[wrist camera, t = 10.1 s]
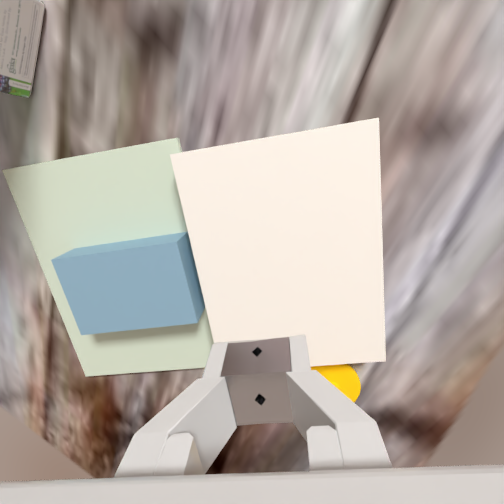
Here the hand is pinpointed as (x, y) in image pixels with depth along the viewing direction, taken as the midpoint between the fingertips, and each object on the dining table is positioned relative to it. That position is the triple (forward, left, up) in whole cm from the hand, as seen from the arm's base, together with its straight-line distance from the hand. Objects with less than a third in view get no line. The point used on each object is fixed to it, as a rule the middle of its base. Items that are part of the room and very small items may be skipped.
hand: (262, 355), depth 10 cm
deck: (+1, +1, -13) cm, 13 cm away
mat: (+1, -12, -13) cm, 17 cm away
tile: (+1, -10, -12) cm, 16 cm away
